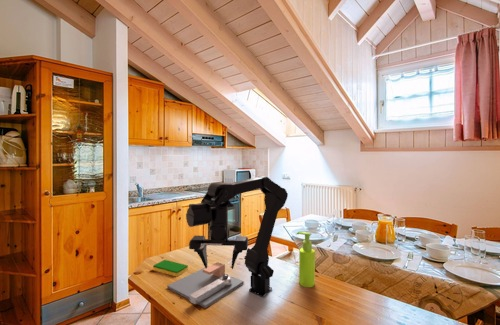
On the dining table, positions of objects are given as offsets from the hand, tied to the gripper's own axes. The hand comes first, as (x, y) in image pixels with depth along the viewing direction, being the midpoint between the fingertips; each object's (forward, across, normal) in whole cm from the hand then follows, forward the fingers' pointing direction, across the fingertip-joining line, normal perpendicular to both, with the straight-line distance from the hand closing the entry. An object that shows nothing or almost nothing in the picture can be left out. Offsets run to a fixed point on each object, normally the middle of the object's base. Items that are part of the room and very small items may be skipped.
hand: (219, 268), depth 86 cm
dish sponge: (+14, +26, -26) cm, 39 cm away
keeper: (+12, +5, -18) cm, 22 cm away
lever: (+12, +4, -7) cm, 14 cm away
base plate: (+13, +8, -13) cm, 20 cm away
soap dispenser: (+13, -31, -17) cm, 38 cm away
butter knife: (+14, +2, -32) cm, 35 cm away
